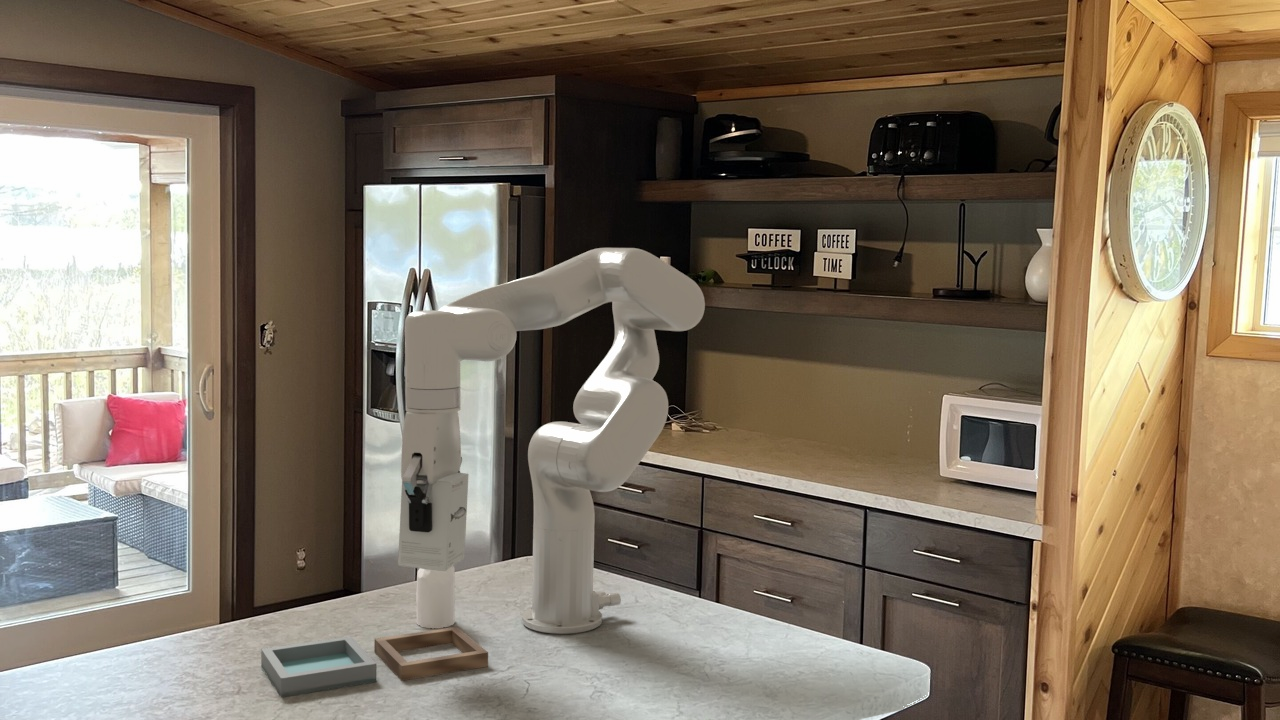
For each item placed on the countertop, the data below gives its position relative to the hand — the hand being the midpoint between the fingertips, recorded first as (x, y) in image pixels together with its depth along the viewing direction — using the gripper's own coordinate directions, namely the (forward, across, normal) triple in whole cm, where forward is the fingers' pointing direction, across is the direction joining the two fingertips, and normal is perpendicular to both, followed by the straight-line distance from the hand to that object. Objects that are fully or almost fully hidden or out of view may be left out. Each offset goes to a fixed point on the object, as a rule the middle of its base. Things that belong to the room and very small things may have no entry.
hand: (434, 523), depth 159 cm
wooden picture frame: (+19, +1, 0) cm, 19 cm away
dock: (+19, +11, -12) cm, 25 cm away
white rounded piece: (+20, -14, -7) cm, 25 cm away
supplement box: (+6, 0, 0) cm, 6 cm away
